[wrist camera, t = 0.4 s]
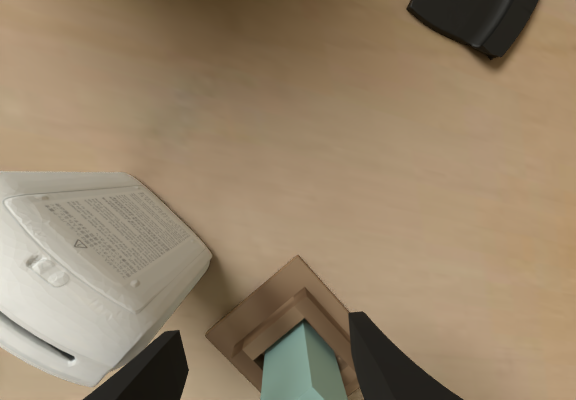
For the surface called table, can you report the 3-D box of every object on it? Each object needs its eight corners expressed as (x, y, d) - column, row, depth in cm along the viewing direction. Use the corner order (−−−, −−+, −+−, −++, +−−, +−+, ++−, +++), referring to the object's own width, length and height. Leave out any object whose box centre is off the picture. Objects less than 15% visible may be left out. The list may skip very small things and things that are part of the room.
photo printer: (89, 201, 21) (-193, 246, 8) (126, 162, 20) (-107, 150, 8) (186, 290, 22) (61, 447, 9) (222, 254, 21) (144, 367, 9)
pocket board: (300, 426, 23) (302, 453, 21) (207, 331, 22) (198, 349, 20) (388, 356, 23) (400, 376, 20) (297, 254, 21) (299, 264, 19)
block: (297, 380, 22) (304, 477, 15) (265, 347, 22) (257, 430, 15) (333, 350, 22) (357, 434, 15) (302, 316, 21) (312, 386, 14)
